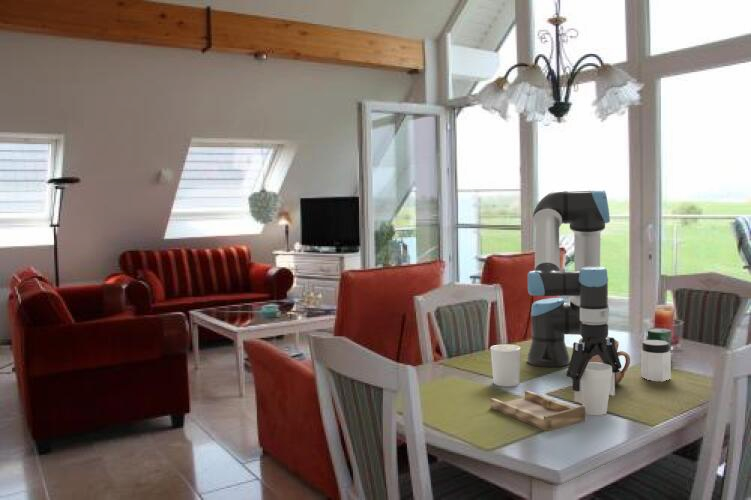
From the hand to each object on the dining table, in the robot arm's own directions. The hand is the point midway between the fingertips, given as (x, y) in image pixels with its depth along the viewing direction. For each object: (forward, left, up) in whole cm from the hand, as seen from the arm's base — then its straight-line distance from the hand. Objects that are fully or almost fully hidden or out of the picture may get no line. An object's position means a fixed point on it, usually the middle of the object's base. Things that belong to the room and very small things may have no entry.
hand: (594, 398), depth 182 cm
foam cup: (0, 0, -4) cm, 4 cm away
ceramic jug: (-18, +22, -4) cm, 29 cm away
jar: (-12, +41, -4) cm, 43 cm away
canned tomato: (-27, +62, -4) cm, 68 cm away
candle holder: (-36, -2, -4) cm, 36 cm away
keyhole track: (-8, -15, -4) cm, 17 cm away
